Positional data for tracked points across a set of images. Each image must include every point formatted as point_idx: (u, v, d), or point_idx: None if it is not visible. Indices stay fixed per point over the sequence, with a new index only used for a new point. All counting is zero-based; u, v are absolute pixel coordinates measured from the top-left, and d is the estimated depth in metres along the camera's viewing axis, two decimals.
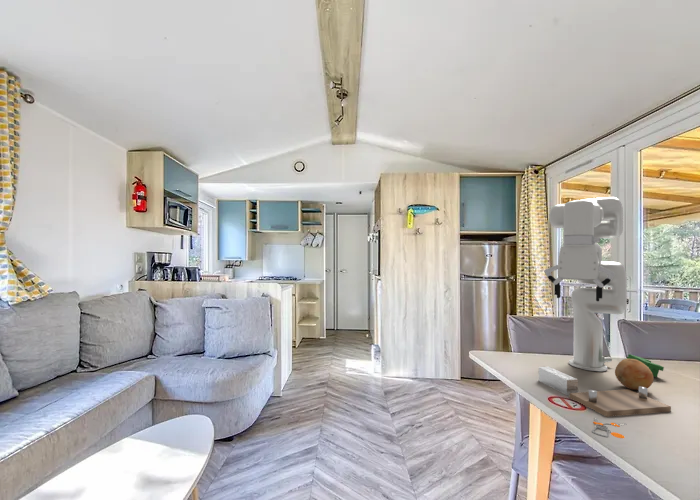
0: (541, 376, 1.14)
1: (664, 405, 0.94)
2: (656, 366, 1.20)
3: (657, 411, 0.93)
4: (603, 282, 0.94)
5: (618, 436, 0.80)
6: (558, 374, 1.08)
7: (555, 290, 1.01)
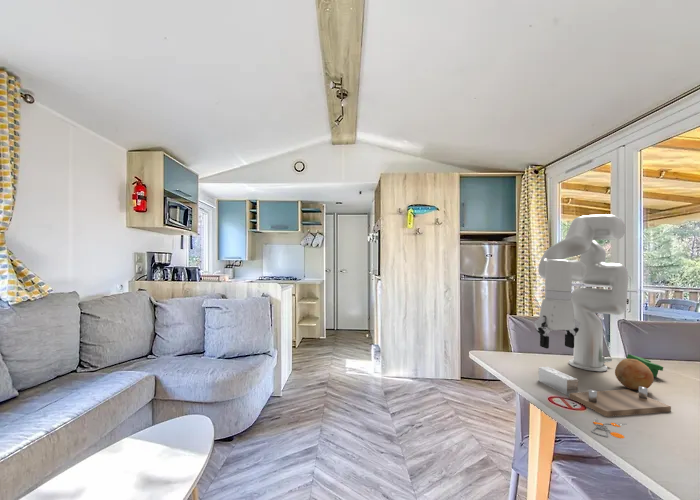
0: (541, 376, 1.14)
1: (664, 405, 0.94)
2: (656, 366, 1.20)
3: (657, 411, 0.93)
4: None
5: (618, 436, 0.80)
6: (558, 374, 1.08)
7: (544, 341, 1.08)
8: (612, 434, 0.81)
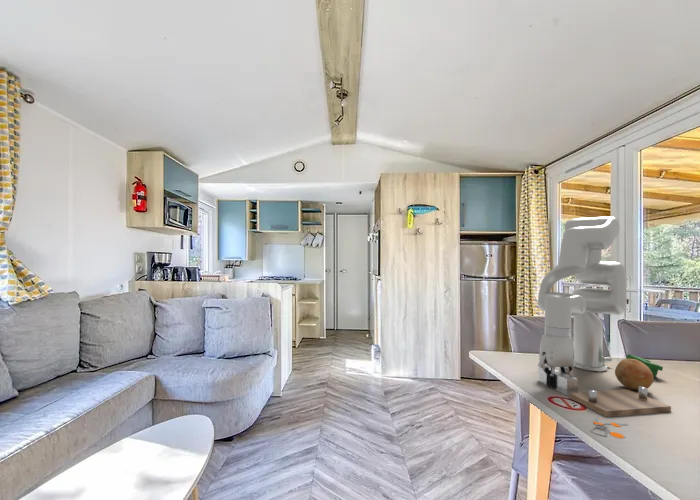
0: (541, 376, 1.14)
1: (664, 405, 0.94)
2: (655, 366, 1.20)
3: (657, 411, 0.93)
4: None
5: (617, 436, 0.80)
6: (558, 373, 1.08)
7: (551, 381, 1.08)
8: (611, 434, 0.81)
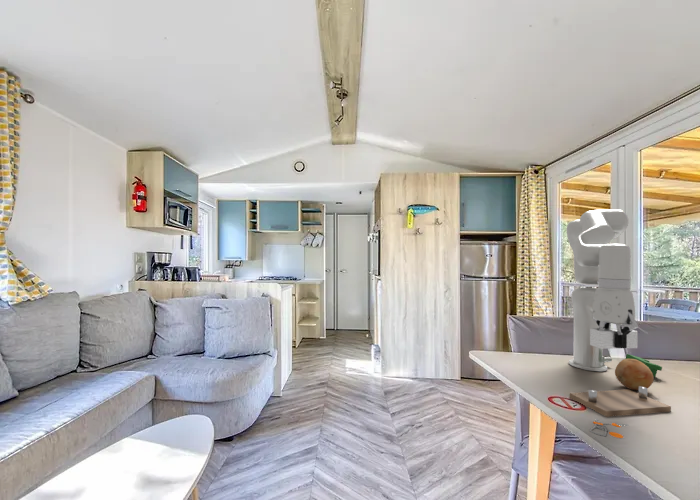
0: (606, 341, 0.96)
1: (664, 405, 0.94)
2: (654, 366, 1.20)
3: (657, 411, 0.93)
4: None
5: (616, 435, 0.80)
6: None
7: None
8: (611, 434, 0.81)
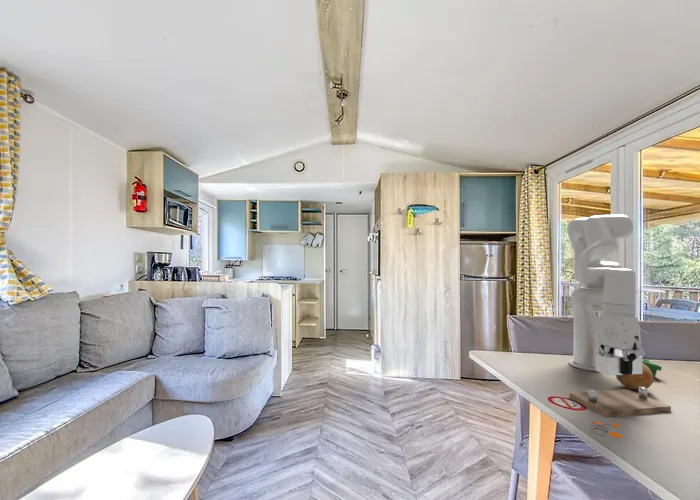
0: (612, 367, 0.95)
1: (664, 405, 0.94)
2: (654, 366, 1.20)
3: (657, 411, 0.93)
4: None
5: (616, 435, 0.80)
6: None
7: None
8: (610, 434, 0.81)
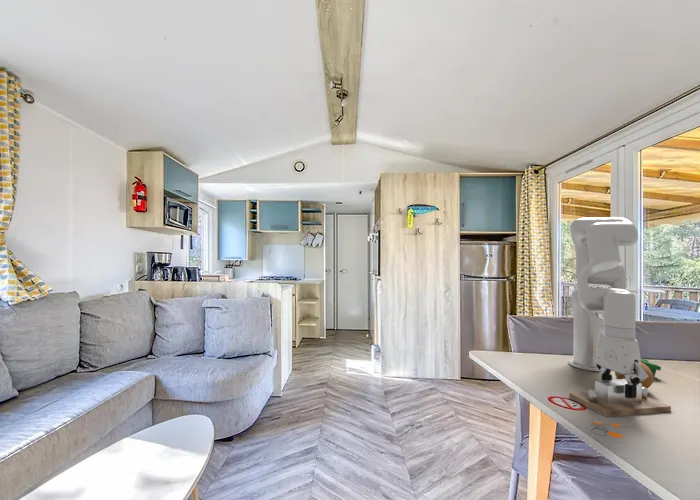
0: (612, 395, 0.95)
1: (664, 405, 0.94)
2: (653, 366, 1.20)
3: (657, 411, 0.93)
4: None
5: (615, 435, 0.80)
6: (624, 383, 0.97)
7: None
8: (610, 433, 0.81)
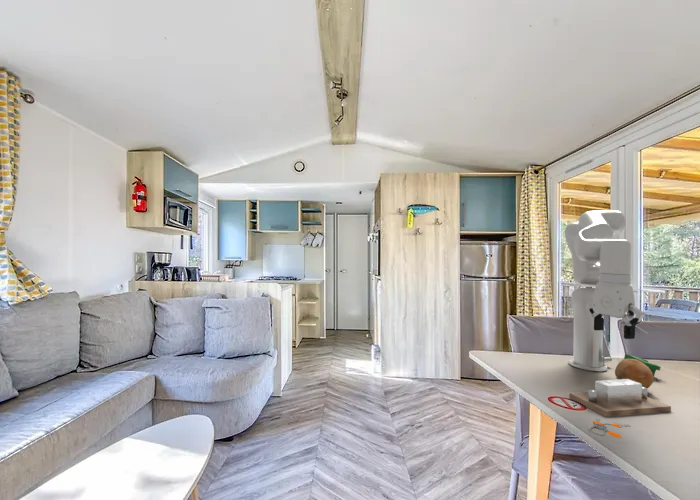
0: (612, 395, 0.95)
1: (664, 405, 0.94)
2: (653, 366, 1.20)
3: (657, 411, 0.93)
4: None
5: (614, 435, 0.80)
6: (624, 383, 0.97)
7: None
8: (609, 433, 0.81)
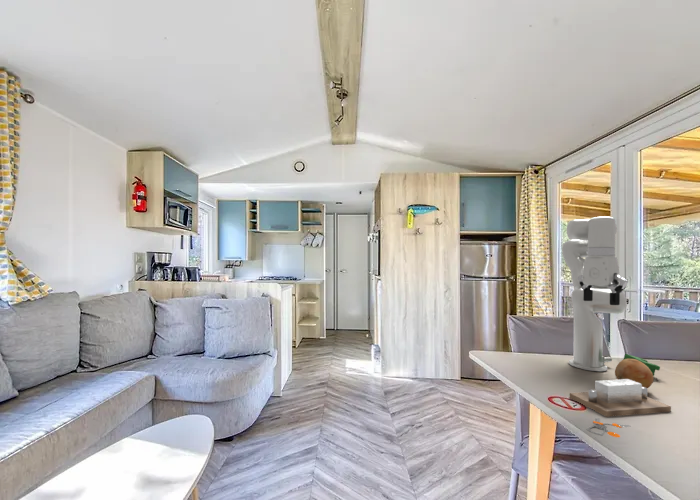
0: (612, 395, 0.95)
1: (664, 405, 0.94)
2: (652, 366, 1.20)
3: (657, 411, 0.93)
4: None
5: (614, 435, 0.80)
6: (624, 383, 0.97)
7: None
8: (609, 433, 0.81)
